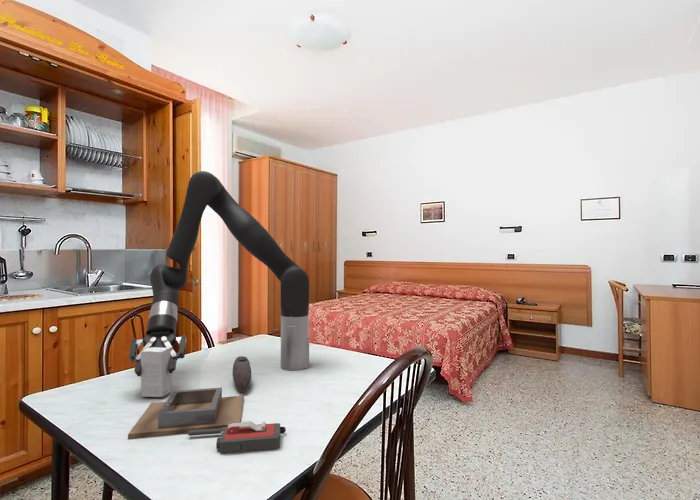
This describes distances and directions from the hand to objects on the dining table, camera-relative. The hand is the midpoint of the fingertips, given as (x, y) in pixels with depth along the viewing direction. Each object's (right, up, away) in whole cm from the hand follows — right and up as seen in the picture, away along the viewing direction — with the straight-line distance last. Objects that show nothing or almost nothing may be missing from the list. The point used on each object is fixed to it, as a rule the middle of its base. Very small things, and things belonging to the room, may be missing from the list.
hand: (154, 373), depth 97 cm
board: (+14, -7, -11) cm, 19 cm away
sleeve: (+14, -7, -11) cm, 19 cm away
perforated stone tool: (+20, -7, +9) cm, 23 cm away
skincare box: (0, -6, +1) cm, 6 cm away
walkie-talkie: (+28, -7, -22) cm, 36 cm away
